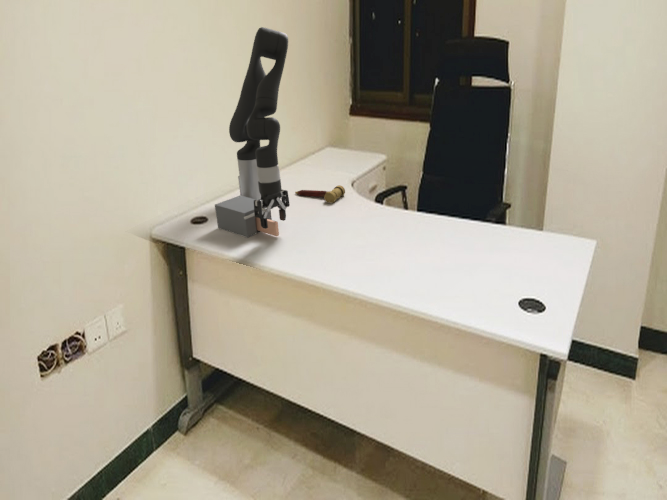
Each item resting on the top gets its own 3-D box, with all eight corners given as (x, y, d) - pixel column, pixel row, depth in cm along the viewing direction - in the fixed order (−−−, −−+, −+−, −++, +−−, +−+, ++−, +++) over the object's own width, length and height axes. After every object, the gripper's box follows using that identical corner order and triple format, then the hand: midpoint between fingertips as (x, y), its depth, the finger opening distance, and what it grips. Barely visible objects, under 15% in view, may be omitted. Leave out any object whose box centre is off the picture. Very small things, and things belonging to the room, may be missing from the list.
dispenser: (217, 228, 205) (213, 205, 201) (244, 217, 214) (241, 194, 210) (248, 238, 195) (245, 214, 191) (275, 226, 203) (273, 203, 200)
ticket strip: (232, 222, 207) (231, 210, 205) (235, 221, 208) (233, 209, 206) (276, 236, 193) (275, 222, 191) (279, 235, 194) (277, 221, 192)
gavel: (288, 191, 231) (300, 183, 239) (289, 201, 233) (301, 194, 241) (333, 193, 222) (344, 185, 230) (334, 204, 223) (345, 196, 231)
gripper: (276, 171, 194) (280, 215, 201) (245, 182, 184) (251, 228, 191) (292, 174, 189) (296, 219, 196) (261, 185, 180) (266, 232, 186)
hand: (273, 223), depth 193 cm, fingers open, 8 cm apart
